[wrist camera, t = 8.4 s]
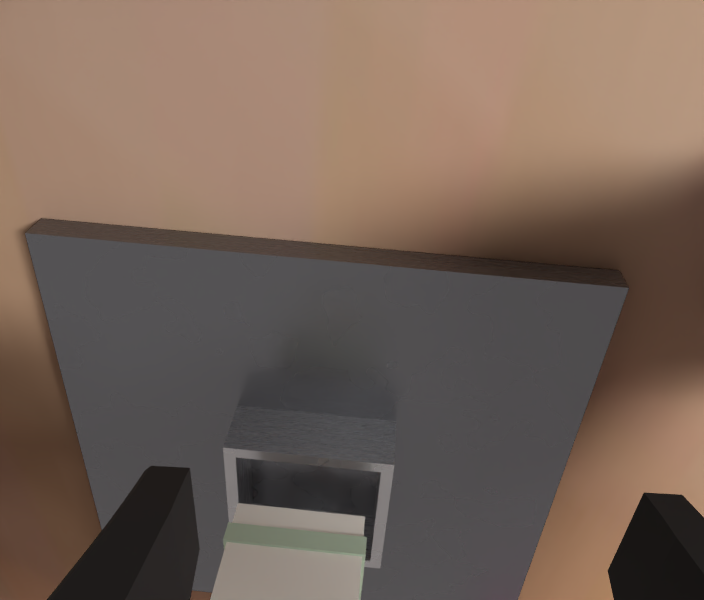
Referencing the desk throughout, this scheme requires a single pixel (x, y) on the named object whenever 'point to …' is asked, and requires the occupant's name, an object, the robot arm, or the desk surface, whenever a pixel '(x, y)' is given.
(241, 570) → the post
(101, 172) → the desk surface
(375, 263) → the stand
